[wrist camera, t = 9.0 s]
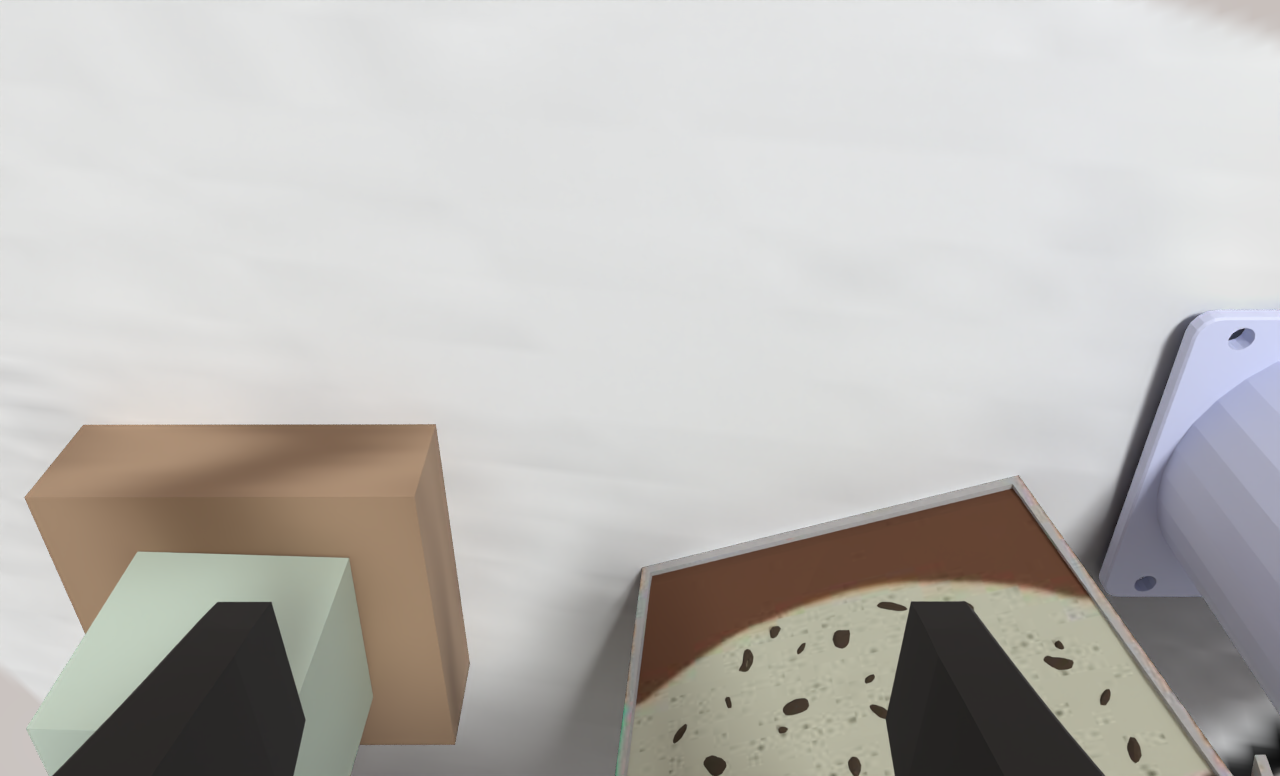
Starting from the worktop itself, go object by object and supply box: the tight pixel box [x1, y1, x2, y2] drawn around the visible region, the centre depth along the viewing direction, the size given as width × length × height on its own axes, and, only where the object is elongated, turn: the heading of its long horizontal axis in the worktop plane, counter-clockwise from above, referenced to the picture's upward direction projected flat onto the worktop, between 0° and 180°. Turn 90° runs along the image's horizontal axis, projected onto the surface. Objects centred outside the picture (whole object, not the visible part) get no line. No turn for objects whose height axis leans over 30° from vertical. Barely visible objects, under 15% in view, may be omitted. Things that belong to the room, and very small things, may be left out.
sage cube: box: [26, 552, 373, 776], centre depth 20 cm, size 4×4×4 cm
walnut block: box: [24, 424, 470, 745], centre depth 24 cm, size 8×8×3 cm
